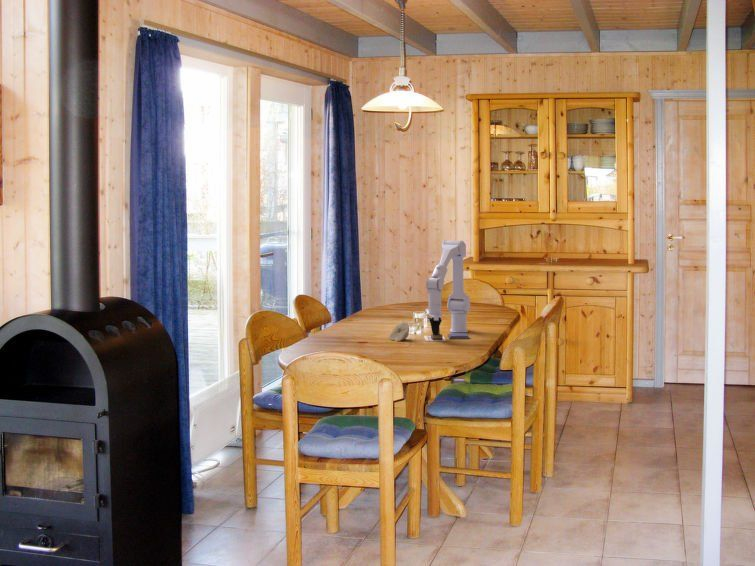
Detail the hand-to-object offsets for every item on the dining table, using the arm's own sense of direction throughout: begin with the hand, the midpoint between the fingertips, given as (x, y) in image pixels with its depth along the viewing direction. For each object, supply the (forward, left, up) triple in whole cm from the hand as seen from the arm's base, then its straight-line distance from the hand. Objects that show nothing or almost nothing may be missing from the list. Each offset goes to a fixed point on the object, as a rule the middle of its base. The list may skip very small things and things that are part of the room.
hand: (435, 334), depth 422 cm
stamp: (0, +1, -2) cm, 2 cm away
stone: (-1, -16, -3) cm, 16 cm away
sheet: (-3, 0, -2) cm, 4 cm away
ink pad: (-5, +11, -2) cm, 13 cm away
